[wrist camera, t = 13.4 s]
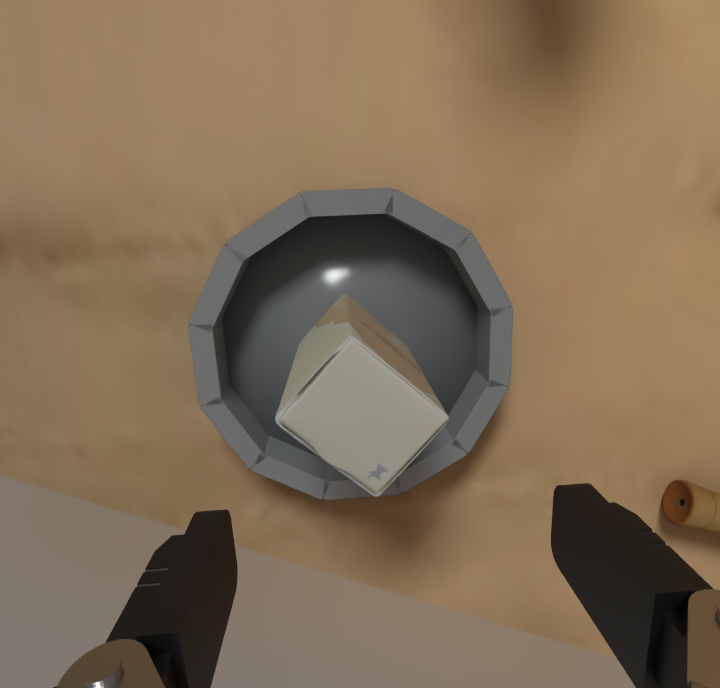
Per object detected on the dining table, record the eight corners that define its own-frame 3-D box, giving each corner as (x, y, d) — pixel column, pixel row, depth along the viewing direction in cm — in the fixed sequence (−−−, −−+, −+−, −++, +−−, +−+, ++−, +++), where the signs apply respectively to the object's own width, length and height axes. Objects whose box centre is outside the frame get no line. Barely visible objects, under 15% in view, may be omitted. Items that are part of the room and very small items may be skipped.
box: (408, 345, 28) (460, 424, 17) (360, 398, 28) (380, 506, 18) (340, 287, 27) (350, 333, 16) (292, 344, 27) (269, 424, 17)
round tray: (497, 184, 27) (520, 180, 23) (489, 461, 31) (507, 487, 28) (186, 197, 26) (167, 194, 22) (223, 480, 30) (211, 510, 27)
